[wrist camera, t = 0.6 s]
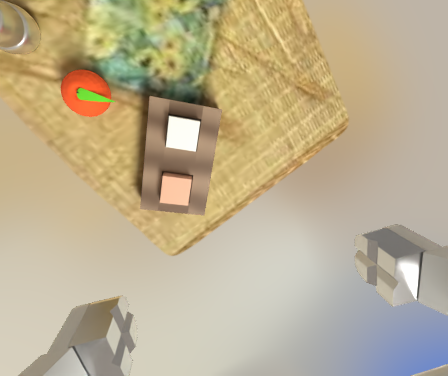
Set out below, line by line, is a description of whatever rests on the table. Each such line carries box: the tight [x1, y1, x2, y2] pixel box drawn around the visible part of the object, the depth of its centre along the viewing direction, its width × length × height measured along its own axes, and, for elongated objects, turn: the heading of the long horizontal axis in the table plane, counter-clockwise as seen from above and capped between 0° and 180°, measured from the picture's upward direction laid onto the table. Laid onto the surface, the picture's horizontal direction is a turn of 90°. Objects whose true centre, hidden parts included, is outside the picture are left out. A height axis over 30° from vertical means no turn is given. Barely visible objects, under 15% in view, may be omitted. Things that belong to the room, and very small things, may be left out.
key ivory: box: [166, 115, 200, 152], centre depth 41 cm, size 5×5×3 cm
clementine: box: [61, 70, 115, 117], centre depth 39 cm, size 8×7×7 cm
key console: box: [140, 96, 222, 215], centre depth 45 cm, size 20×12×4 cm, turn 170°
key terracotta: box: [160, 172, 192, 206], centre depth 44 cm, size 5×5×3 cm
